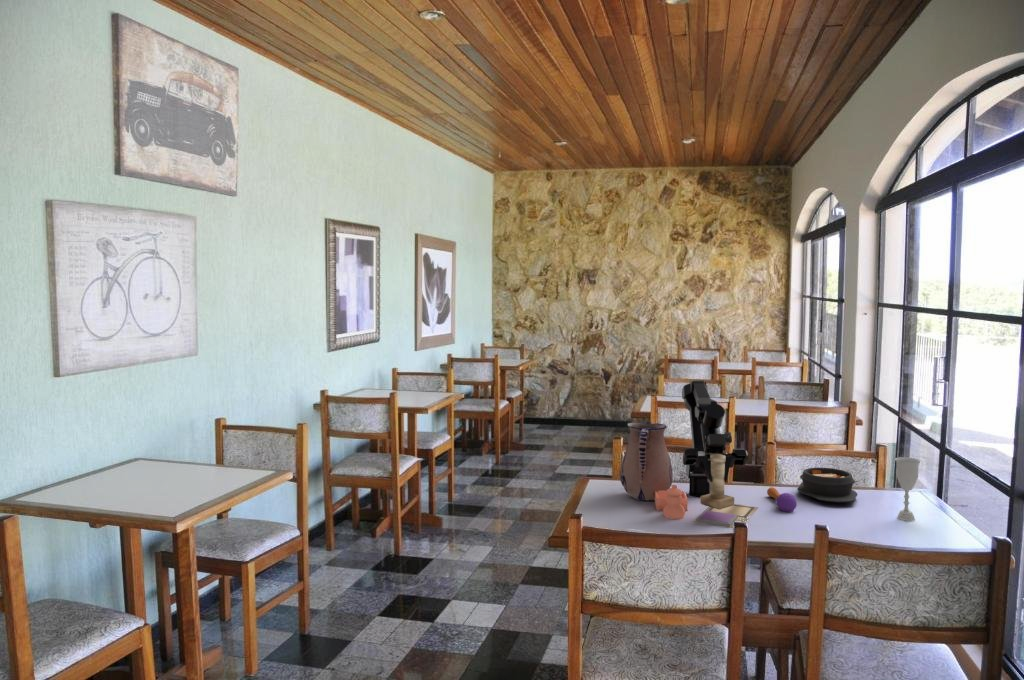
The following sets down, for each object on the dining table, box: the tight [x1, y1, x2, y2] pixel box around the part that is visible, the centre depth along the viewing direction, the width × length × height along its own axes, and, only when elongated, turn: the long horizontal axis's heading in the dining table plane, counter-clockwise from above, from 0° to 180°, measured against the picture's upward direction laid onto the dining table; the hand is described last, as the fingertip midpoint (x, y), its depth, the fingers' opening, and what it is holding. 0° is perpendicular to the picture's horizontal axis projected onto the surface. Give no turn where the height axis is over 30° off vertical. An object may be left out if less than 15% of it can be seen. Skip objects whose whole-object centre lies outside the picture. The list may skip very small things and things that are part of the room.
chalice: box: [894, 456, 921, 522], centre depth 221 cm, size 7×7×18 cm
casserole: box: [796, 467, 858, 503], centre depth 245 cm, size 25×19×8 cm
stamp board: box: [692, 503, 760, 529], centre depth 225 cm, size 14×25×1 cm, turn 149°
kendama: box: [766, 486, 798, 513], centre depth 236 cm, size 6×6×20 cm
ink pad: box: [695, 509, 738, 528], centre depth 220 cm, size 10×10×1 cm
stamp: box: [699, 454, 735, 510], centre depth 219 cm, size 7×7×15 cm
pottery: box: [654, 484, 688, 520], centre depth 230 cm, size 18×10×10 cm, turn 173°
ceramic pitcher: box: [619, 421, 674, 501], centre depth 244 cm, size 18×21×25 cm
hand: (718, 481), depth 218 cm, fingers closed on stamp, 4 cm apart
